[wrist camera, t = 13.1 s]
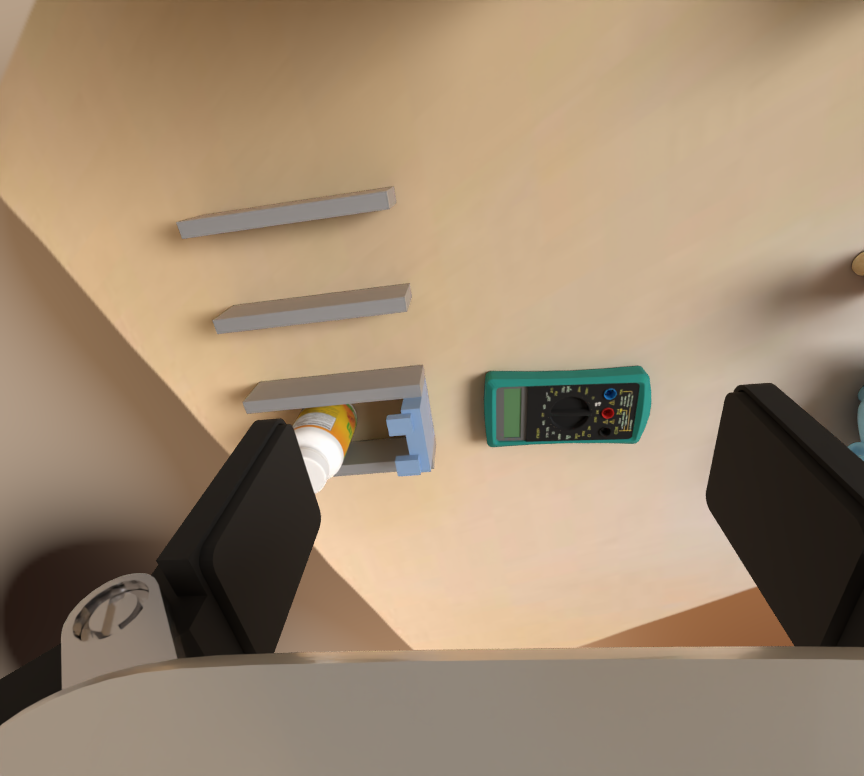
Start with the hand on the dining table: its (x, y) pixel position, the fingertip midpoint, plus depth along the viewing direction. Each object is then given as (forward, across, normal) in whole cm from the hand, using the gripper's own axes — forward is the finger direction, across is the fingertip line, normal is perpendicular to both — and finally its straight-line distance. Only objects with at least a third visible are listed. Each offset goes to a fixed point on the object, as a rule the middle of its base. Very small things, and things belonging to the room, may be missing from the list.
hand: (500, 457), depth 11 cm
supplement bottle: (+31, +16, +17) cm, 38 cm away
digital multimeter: (+31, -7, +18) cm, 36 cm away
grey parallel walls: (+31, +14, +9) cm, 35 cm away
